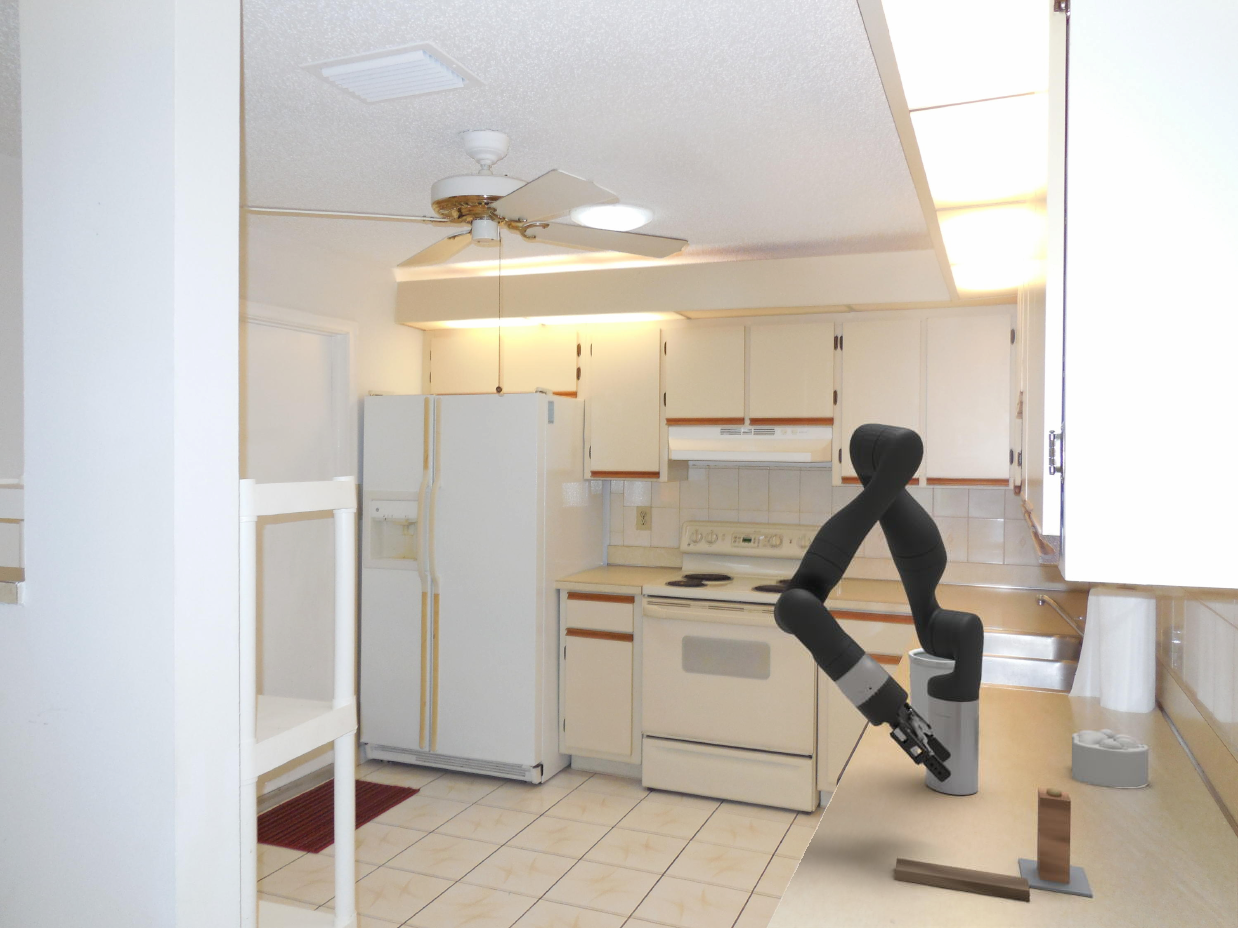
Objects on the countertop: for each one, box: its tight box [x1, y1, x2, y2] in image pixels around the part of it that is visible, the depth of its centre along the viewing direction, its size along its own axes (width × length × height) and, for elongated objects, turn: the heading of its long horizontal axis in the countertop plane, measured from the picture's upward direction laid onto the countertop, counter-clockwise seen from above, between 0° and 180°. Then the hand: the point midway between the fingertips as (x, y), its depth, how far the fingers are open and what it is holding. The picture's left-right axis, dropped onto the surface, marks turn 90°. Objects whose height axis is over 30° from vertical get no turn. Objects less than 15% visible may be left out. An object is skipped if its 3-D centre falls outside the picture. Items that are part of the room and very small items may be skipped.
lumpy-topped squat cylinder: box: [1071, 728, 1149, 788], centre depth 175 cm, size 10×13×9 cm
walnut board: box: [894, 857, 1031, 902], centre depth 130 cm, size 4×18×2 cm, turn 70°
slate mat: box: [1017, 857, 1094, 898], centre depth 133 cm, size 9×9×1 cm
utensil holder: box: [908, 647, 955, 725], centre depth 205 cm, size 15×15×18 cm
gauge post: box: [1036, 787, 1072, 884], centre depth 133 cm, size 4×4×13 cm
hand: (946, 768), depth 139 cm, fingers open, 8 cm apart
